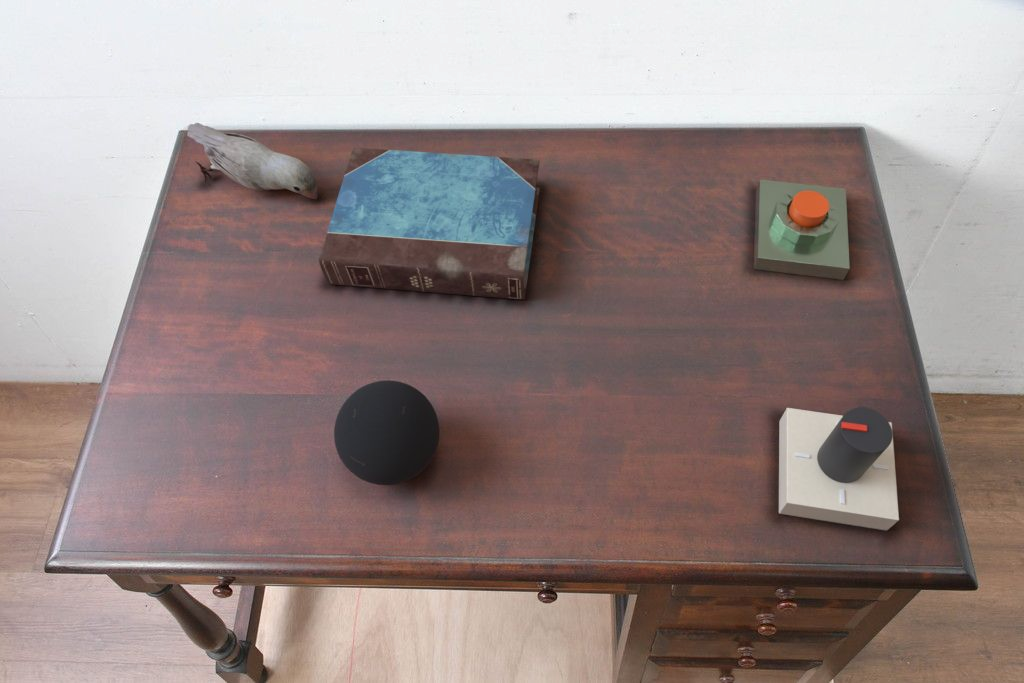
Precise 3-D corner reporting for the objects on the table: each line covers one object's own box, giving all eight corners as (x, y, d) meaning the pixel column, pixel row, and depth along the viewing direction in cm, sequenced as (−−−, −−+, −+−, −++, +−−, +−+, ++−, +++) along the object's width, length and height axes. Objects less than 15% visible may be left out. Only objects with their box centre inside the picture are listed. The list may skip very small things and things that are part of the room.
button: (825, 229, 89) (829, 219, 88) (788, 225, 90) (792, 215, 88) (824, 202, 92) (828, 192, 90) (788, 198, 92) (792, 188, 91)
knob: (863, 443, 76) (892, 409, 70) (866, 486, 74) (895, 455, 68) (816, 437, 77) (840, 402, 71) (817, 479, 75) (842, 447, 68)
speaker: (438, 402, 84) (427, 354, 75) (450, 491, 78) (438, 450, 70) (344, 417, 83) (321, 370, 75) (348, 508, 78) (325, 468, 69)
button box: (843, 280, 90) (855, 258, 87) (753, 269, 91) (761, 247, 88) (840, 200, 96) (850, 177, 93) (755, 191, 97) (763, 168, 94)
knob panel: (887, 530, 75) (900, 519, 72) (778, 513, 76) (787, 502, 73) (880, 435, 80) (892, 421, 77) (779, 420, 81) (787, 406, 79)
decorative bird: (309, 215, 98) (293, 172, 91) (197, 184, 101) (174, 140, 95) (329, 184, 100) (314, 140, 94) (219, 155, 104) (198, 110, 97)
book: (328, 287, 92) (317, 260, 88) (361, 174, 101) (353, 145, 97) (524, 303, 90) (523, 277, 86) (540, 186, 99) (539, 157, 95)
